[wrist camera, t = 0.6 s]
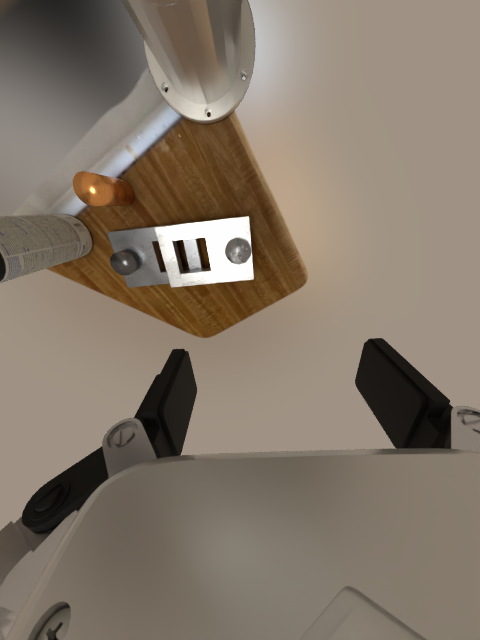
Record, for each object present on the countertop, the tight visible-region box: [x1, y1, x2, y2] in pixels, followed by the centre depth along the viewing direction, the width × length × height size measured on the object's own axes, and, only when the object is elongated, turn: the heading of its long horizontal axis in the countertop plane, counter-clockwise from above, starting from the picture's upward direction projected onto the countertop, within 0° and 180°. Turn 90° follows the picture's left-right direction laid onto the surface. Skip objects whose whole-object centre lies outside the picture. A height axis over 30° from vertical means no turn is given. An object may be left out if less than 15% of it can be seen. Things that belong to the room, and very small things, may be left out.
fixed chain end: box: [107, 222, 204, 287], centre depth 34 cm, size 14×9×4 cm, turn 96°
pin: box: [73, 171, 135, 206], centre depth 28 cm, size 3×3×8 cm
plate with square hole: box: [155, 216, 254, 287], centre depth 33 cm, size 14×9×4 cm, turn 96°
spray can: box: [0, 214, 93, 283], centre depth 26 cm, size 7×7×20 cm
